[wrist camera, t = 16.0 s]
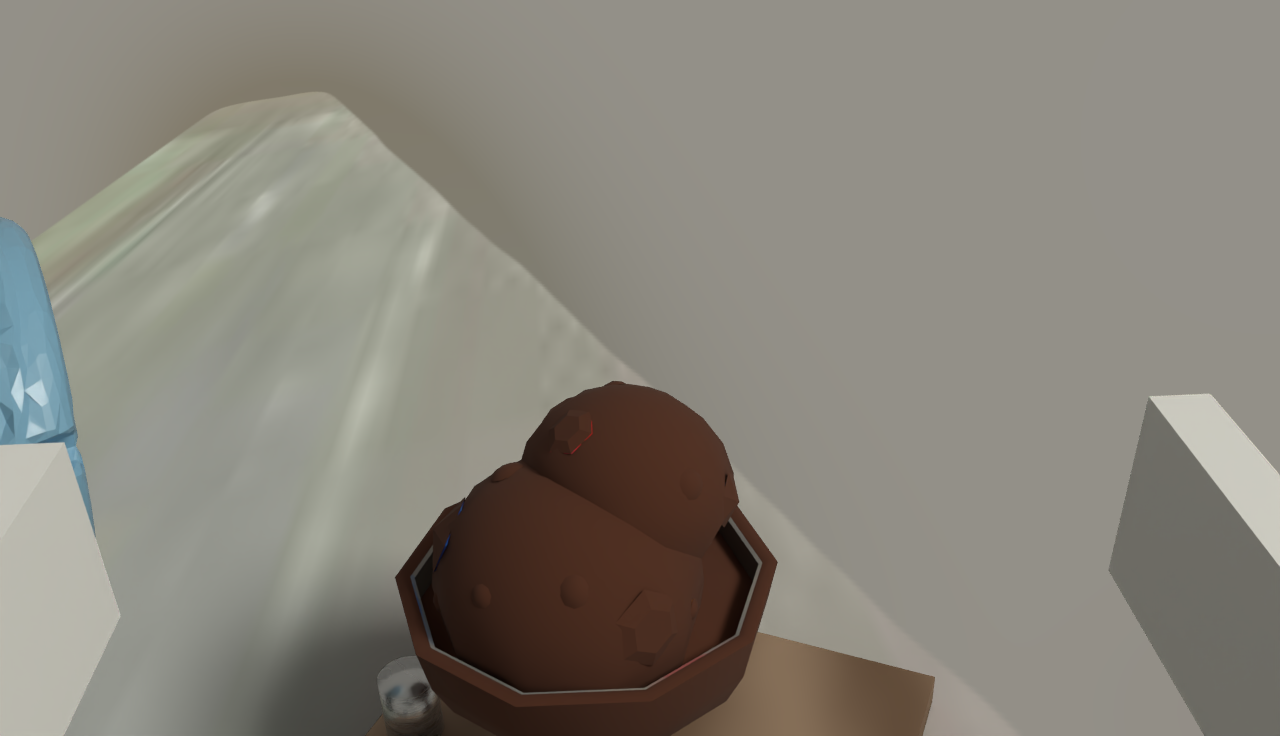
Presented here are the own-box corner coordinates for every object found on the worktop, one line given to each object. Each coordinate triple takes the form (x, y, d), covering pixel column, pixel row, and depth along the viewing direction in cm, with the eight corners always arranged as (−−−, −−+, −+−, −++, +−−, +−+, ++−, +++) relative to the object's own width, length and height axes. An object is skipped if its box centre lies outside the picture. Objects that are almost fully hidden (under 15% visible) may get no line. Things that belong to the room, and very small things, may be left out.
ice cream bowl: (566, 636, 46) (537, 285, 39) (827, 759, 41) (852, 376, 33) (365, 828, 39) (281, 438, 31) (651, 1011, 33) (632, 589, 26)
